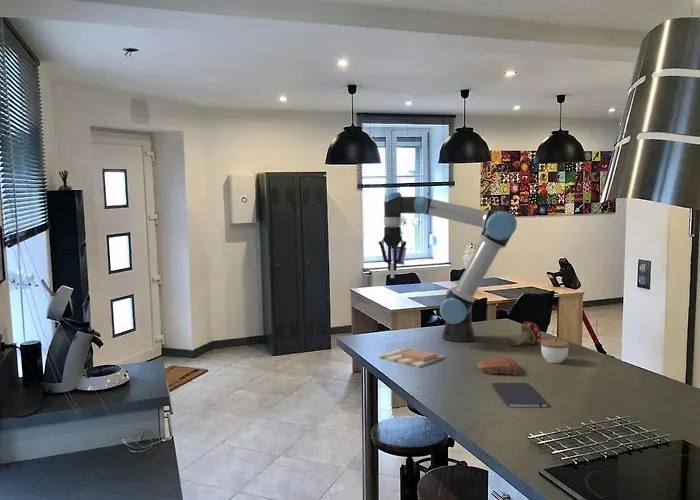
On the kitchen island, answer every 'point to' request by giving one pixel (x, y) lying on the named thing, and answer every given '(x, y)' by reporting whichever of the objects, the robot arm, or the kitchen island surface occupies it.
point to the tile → (418, 355)
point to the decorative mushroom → (527, 334)
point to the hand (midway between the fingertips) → (392, 277)
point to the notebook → (519, 395)
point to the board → (396, 357)
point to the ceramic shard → (499, 366)
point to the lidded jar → (554, 350)
